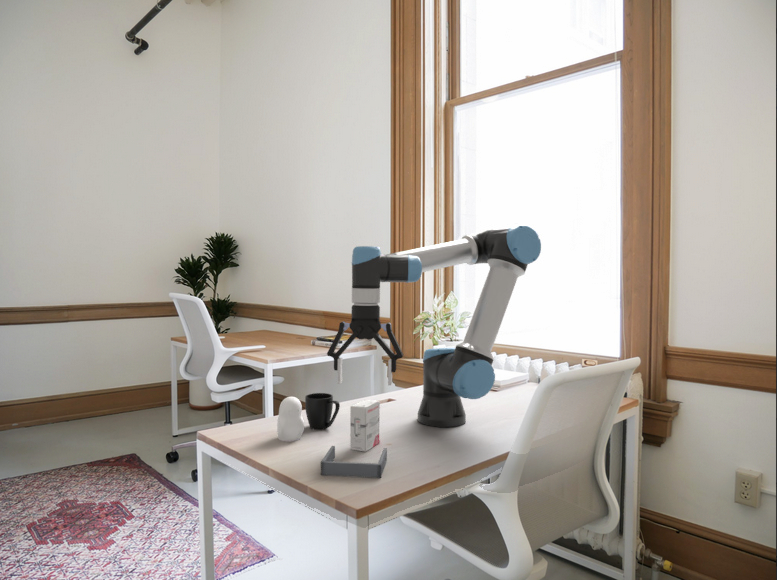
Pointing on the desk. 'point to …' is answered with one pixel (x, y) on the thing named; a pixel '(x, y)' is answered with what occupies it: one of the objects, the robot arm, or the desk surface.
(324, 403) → the mug
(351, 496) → the desk surface
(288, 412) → the figurine
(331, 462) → the grey u-shaped frame
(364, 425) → the ink box
